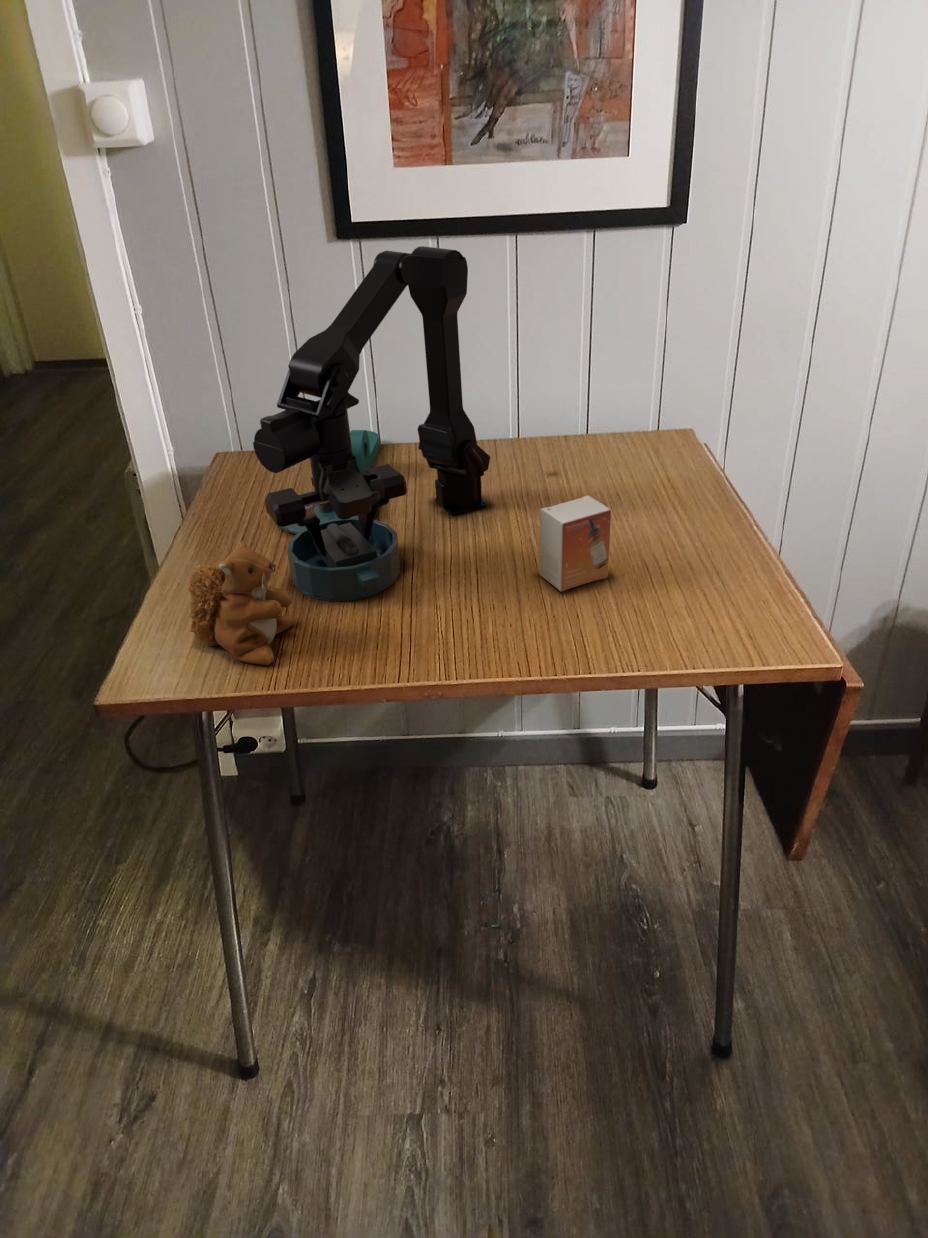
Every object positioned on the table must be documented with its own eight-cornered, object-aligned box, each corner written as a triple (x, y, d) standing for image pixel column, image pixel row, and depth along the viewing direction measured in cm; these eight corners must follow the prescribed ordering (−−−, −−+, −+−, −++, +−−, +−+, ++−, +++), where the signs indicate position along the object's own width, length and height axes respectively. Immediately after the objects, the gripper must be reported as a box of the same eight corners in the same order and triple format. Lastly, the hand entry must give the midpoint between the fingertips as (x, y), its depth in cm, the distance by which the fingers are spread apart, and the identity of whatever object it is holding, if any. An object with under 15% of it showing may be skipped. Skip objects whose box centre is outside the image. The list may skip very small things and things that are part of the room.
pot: (369, 531, 144) (365, 501, 141) (426, 590, 128) (423, 558, 126) (273, 556, 139) (268, 527, 136) (320, 622, 123) (315, 589, 120)
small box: (560, 593, 126) (561, 524, 120) (538, 575, 130) (538, 507, 125) (609, 577, 129) (612, 508, 123) (586, 560, 133) (588, 493, 127)
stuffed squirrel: (275, 668, 114) (257, 576, 107) (174, 655, 118) (150, 565, 111) (307, 624, 122) (293, 536, 115) (212, 613, 126) (192, 527, 119)
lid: (356, 485, 159) (353, 459, 156) (395, 522, 146) (392, 495, 144) (263, 508, 153) (259, 482, 150) (295, 549, 140) (291, 521, 138)
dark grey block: (352, 539, 137) (349, 514, 135) (378, 567, 130) (375, 542, 127) (314, 549, 135) (310, 525, 133) (338, 579, 127) (334, 554, 125)
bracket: (364, 482, 160) (359, 439, 155) (326, 482, 160) (320, 439, 156) (382, 441, 174) (378, 401, 170) (347, 441, 175) (342, 401, 171)
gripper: (280, 483, 113) (299, 592, 122) (419, 450, 120) (427, 555, 129) (254, 453, 122) (274, 557, 130) (385, 423, 129) (395, 524, 137)
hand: (344, 549), depth 131 cm, fingers closed on dark grey block, 6 cm apart
